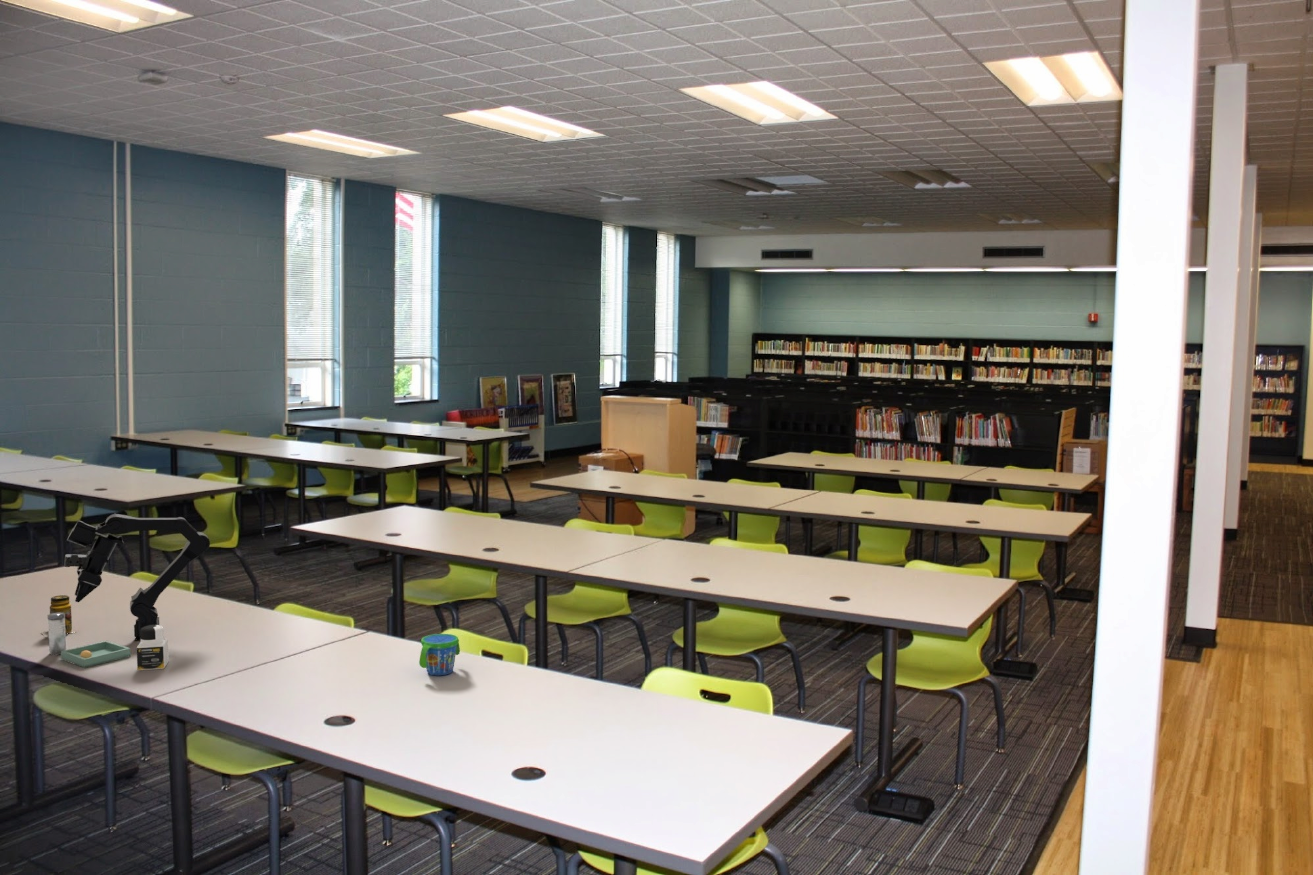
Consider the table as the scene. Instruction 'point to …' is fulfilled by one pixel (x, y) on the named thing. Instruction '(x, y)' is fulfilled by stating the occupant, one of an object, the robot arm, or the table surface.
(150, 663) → the medicine bottle
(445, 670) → the snack cup
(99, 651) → the tray
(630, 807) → the table surface
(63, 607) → the condiment
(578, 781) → the table surface
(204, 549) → the robot arm
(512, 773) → the table surface
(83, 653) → the ball
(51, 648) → the cylinder
